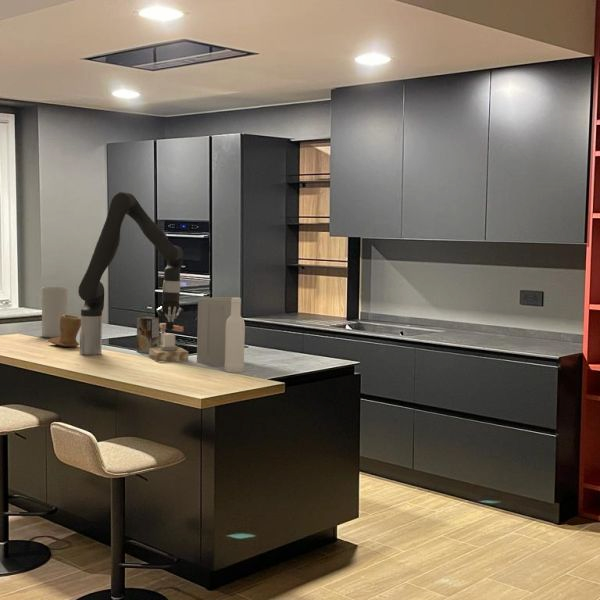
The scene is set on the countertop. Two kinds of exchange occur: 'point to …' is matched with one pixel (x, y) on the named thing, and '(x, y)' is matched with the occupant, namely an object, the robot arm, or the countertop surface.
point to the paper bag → (212, 329)
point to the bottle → (234, 339)
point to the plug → (168, 343)
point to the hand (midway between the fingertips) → (169, 330)
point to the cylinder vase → (53, 310)
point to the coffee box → (148, 333)
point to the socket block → (168, 355)
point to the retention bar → (175, 328)
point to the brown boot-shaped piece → (67, 331)
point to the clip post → (162, 336)
